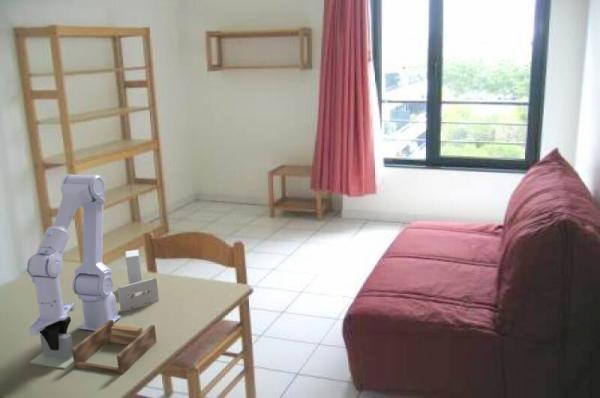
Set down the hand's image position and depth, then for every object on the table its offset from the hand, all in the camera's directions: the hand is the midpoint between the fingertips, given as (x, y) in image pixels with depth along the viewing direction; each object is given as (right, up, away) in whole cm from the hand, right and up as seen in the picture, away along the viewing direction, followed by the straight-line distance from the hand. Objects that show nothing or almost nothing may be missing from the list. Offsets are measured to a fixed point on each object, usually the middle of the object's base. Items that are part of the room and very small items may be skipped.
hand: (57, 347), depth 151 cm
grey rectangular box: (0, -2, +1) cm, 3 cm away
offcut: (+16, -1, +8) cm, 17 cm away
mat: (0, -3, +1) cm, 3 cm away
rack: (+15, -2, +1) cm, 15 cm away
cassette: (+13, +5, +29) cm, 33 cm away
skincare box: (+8, +9, +43) cm, 44 cm away
